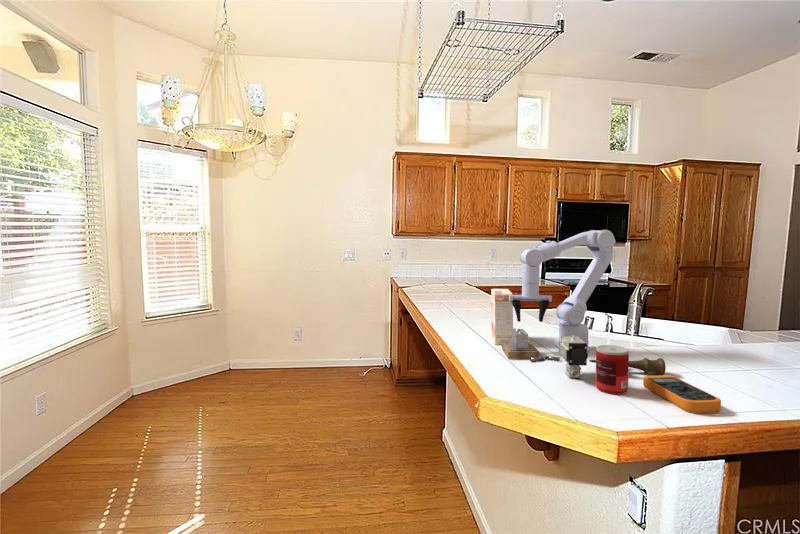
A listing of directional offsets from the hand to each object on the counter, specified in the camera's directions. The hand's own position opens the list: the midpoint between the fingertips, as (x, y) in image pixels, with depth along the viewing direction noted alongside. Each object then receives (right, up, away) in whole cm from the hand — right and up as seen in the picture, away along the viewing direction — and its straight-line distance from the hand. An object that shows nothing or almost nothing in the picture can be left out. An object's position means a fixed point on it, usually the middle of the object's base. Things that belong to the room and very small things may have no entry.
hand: (529, 321), depth 148 cm
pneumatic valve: (+4, -13, -27) cm, 30 cm away
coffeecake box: (-6, -10, +15) cm, 19 cm away
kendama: (+21, -12, -25) cm, 35 cm away
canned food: (+10, -13, -38) cm, 41 cm away
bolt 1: (-2, -11, -11) cm, 16 cm away
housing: (-5, -8, -4) cm, 10 cm away
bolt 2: (+4, -11, -11) cm, 17 cm away
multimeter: (+23, -14, -45) cm, 52 cm away
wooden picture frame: (-5, -11, -4) cm, 12 cm away
